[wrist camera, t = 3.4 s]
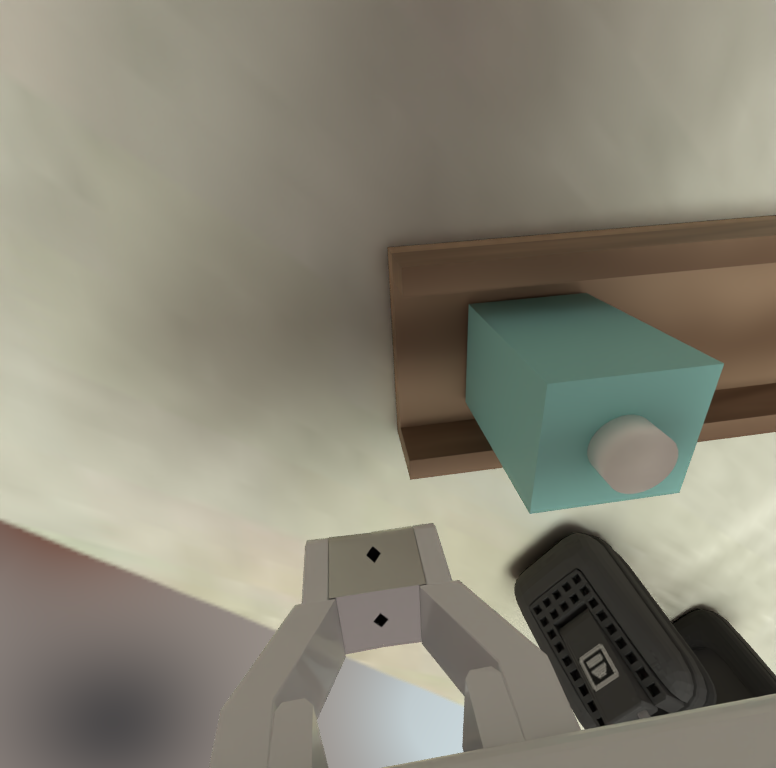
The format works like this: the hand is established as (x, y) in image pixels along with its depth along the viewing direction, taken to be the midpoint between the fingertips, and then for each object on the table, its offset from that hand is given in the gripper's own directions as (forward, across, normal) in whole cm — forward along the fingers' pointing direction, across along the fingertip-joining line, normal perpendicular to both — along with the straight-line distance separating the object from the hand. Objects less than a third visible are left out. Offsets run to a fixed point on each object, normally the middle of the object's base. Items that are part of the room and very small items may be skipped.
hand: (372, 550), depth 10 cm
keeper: (+9, -8, -1) cm, 12 cm away
